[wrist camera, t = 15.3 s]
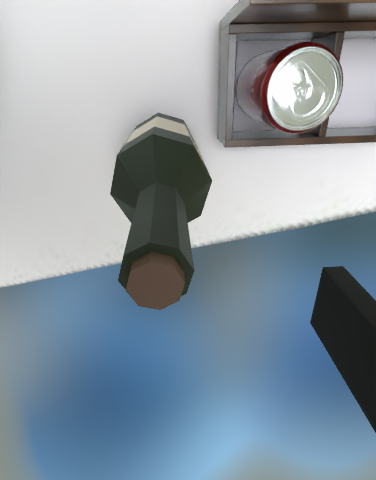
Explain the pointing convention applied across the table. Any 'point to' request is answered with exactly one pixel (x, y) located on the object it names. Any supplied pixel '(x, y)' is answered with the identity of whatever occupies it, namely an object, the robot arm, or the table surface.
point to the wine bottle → (159, 208)
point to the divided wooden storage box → (280, 28)
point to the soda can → (291, 87)
